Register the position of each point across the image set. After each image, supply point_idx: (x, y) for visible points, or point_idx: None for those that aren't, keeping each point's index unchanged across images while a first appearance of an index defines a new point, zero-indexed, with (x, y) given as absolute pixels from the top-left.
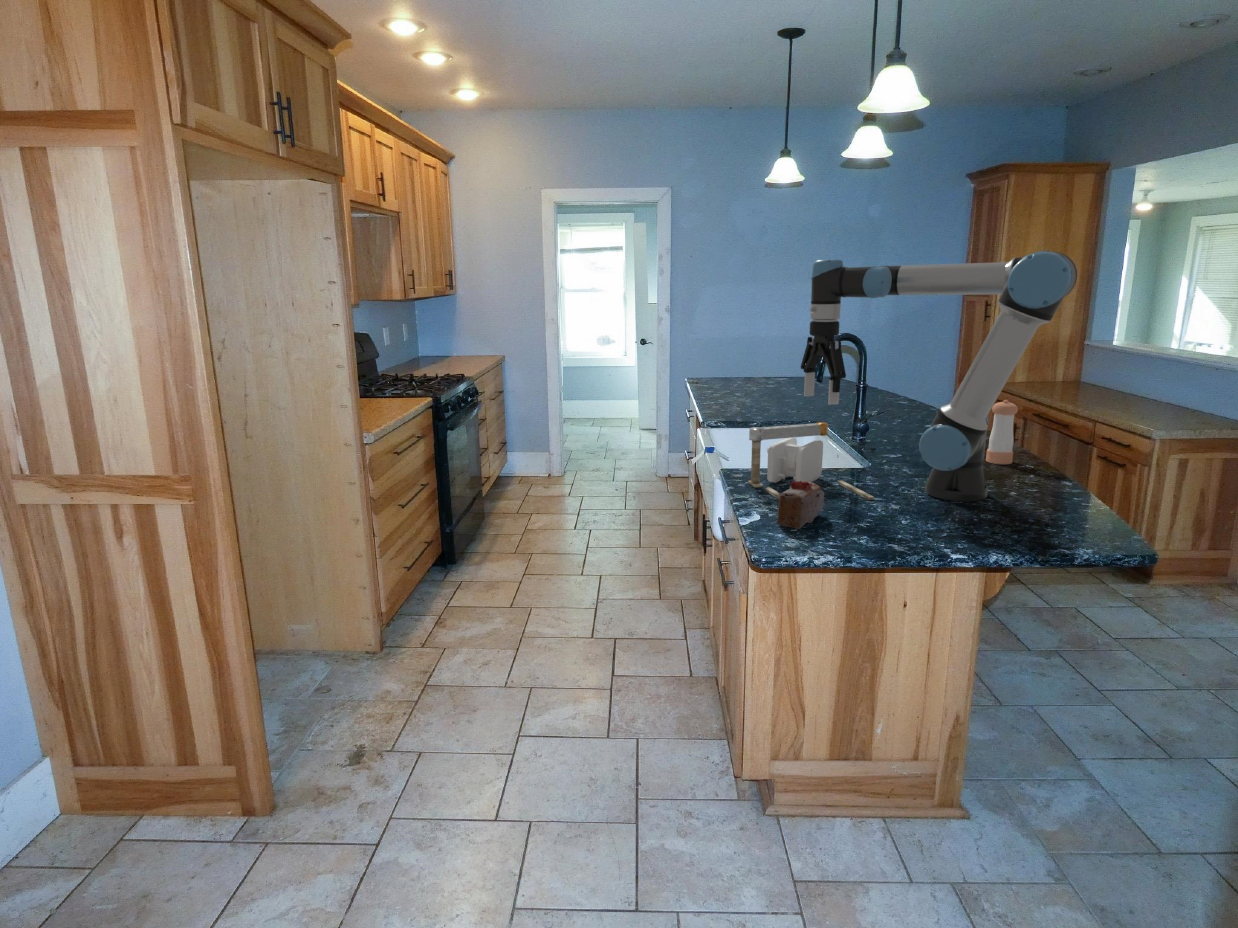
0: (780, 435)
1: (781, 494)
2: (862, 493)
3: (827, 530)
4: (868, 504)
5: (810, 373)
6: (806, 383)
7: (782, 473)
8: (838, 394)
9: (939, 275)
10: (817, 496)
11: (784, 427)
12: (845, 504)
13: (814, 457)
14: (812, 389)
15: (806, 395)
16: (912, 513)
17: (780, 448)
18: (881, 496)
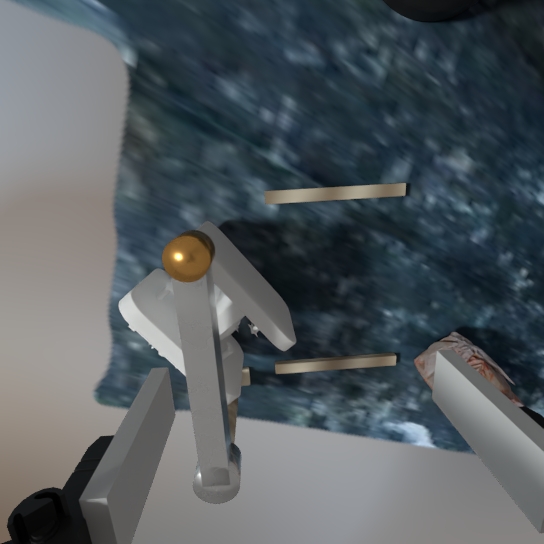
0: (224, 402)
1: None
2: (376, 196)
3: (517, 349)
4: (426, 211)
5: (116, 529)
6: (150, 476)
7: None
8: (488, 386)
9: None
10: (494, 370)
11: (218, 407)
12: (409, 257)
13: (244, 273)
14: (159, 403)
15: (172, 411)
16: (512, 150)
17: None
18: (388, 151)
